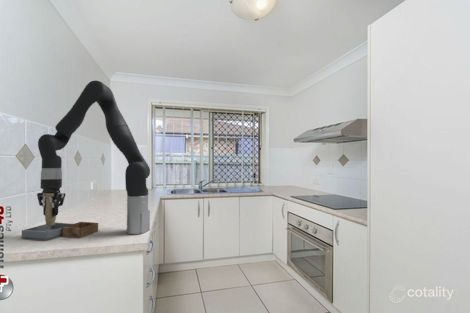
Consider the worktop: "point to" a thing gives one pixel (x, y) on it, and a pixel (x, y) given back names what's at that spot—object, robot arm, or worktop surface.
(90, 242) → the worktop surface
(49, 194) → the handle
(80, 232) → the brown wooden box
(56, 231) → the tray
